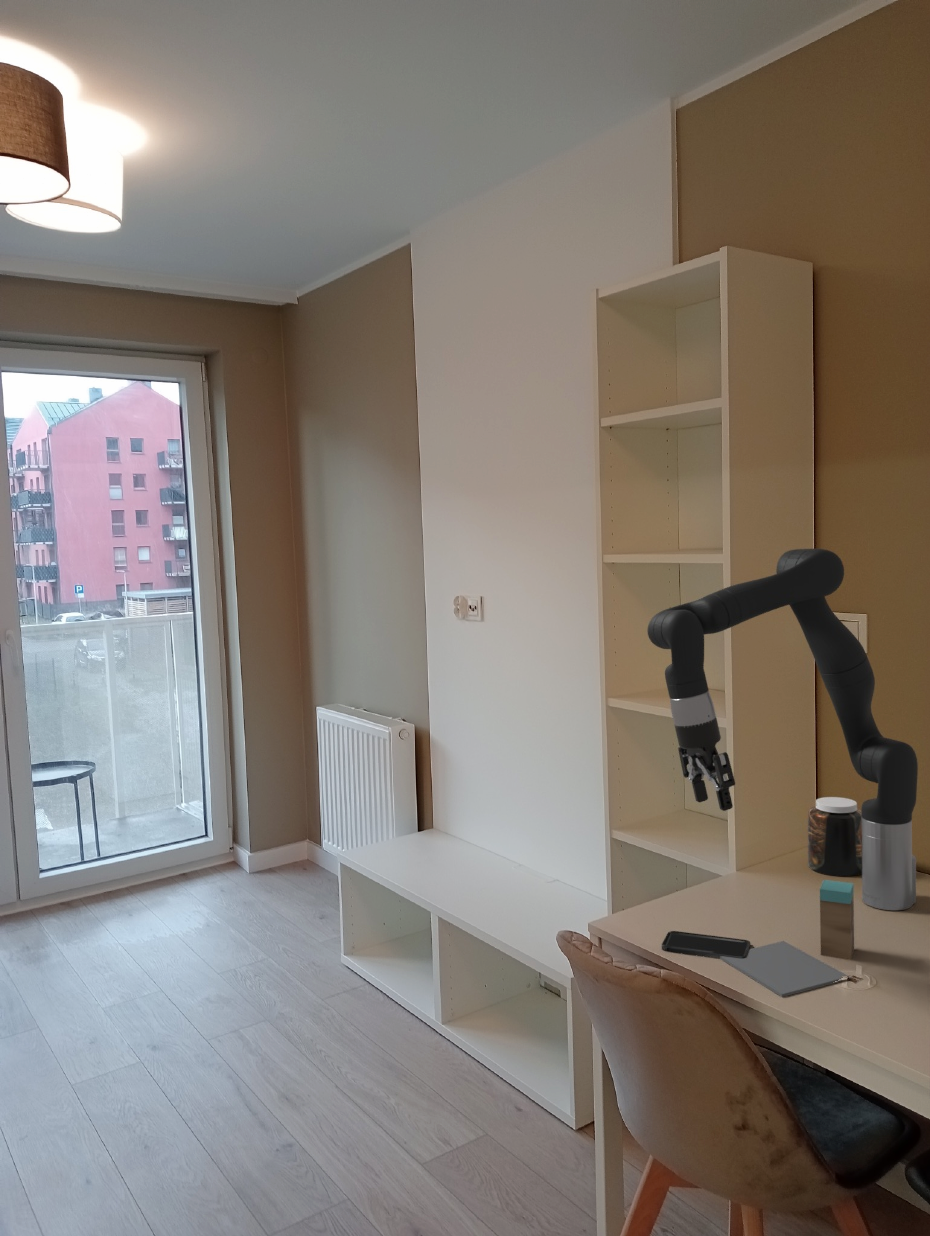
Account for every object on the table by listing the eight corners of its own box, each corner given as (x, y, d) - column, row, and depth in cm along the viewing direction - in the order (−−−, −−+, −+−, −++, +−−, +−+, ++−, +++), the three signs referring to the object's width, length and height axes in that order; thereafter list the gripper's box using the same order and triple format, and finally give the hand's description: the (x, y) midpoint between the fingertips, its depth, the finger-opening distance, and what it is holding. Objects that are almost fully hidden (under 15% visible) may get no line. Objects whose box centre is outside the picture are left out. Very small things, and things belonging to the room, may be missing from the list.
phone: (669, 930, 181) (751, 940, 175) (669, 936, 181) (751, 946, 175) (660, 947, 174) (745, 958, 168) (660, 953, 174) (745, 964, 168)
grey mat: (783, 943, 175) (783, 941, 175) (849, 979, 160) (849, 976, 160) (720, 958, 170) (720, 956, 170) (782, 997, 155) (781, 994, 155)
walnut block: (824, 944, 174) (823, 879, 173) (854, 948, 172) (853, 883, 171) (820, 955, 170) (819, 889, 169) (850, 959, 167) (850, 892, 166)
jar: (829, 879, 206) (828, 811, 204) (798, 862, 217) (797, 797, 216) (877, 873, 208) (876, 805, 207) (844, 856, 220) (843, 792, 218)
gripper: (733, 716, 166) (754, 806, 167) (693, 709, 180) (712, 792, 181) (696, 728, 164) (716, 819, 165) (658, 720, 178) (677, 804, 179)
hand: (714, 805), depth 173 cm, fingers open, 8 cm apart
